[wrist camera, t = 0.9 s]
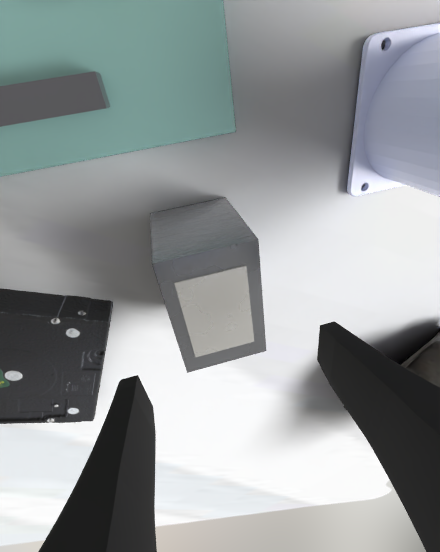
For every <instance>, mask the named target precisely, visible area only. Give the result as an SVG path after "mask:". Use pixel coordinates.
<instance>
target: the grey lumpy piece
mask: <svg viewBox="0 0 440 552" xmlns="http://www.w3.org/2000/svg"><path fill="white" fill-rule="evenodd" d="M401 366H403V367H404V368H406V369H408V370H409V371H411V372H413V373H415V374H416V375H418V376H420V377H421V378H423V379H425V380H427V381H429V382H430V383H432V384H434V385H436V386H438V387H440V331H439V332H438V333H437V335H436V336H435V337H434V338H433V339H431V340H430V341H429V342H428V343H427V344H425V345H424V346H423V347H422V348H420V349H419V350H418V351H417V352H416V353H414V354H413V355H412V356H411V357H409V358H408V359H407V360H406V361H405V362H403V363H402V364H401ZM344 408H345V409H346V407H345V406H344ZM346 410H347V409H346Z"/></svg>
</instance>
